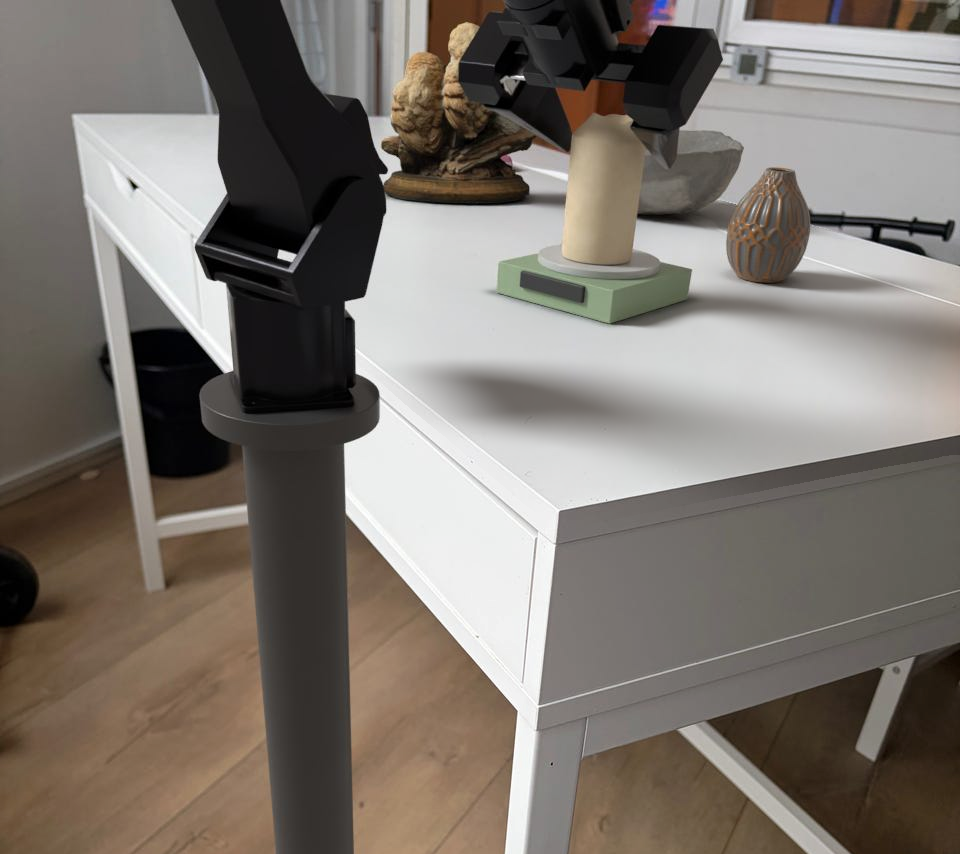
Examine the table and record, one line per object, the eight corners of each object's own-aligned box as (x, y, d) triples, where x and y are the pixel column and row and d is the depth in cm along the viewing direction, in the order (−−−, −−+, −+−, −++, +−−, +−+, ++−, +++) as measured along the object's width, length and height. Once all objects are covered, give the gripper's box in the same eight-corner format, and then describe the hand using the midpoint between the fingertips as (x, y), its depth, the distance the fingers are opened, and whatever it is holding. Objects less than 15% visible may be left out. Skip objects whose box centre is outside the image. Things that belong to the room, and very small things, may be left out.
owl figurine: (519, 186, 122) (530, 23, 113) (549, 205, 113) (564, 28, 104) (374, 185, 118) (373, 15, 109) (392, 204, 109) (393, 19, 99)
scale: (607, 324, 74) (612, 282, 72) (493, 293, 79) (496, 253, 78) (687, 299, 81) (693, 261, 79) (578, 272, 87) (582, 236, 85)
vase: (815, 283, 88) (840, 174, 83) (761, 290, 85) (784, 178, 80) (756, 265, 93) (777, 161, 88) (703, 272, 89) (721, 164, 84)
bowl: (545, 212, 109) (552, 131, 105) (605, 192, 122) (613, 119, 118) (704, 236, 103) (718, 150, 98) (749, 212, 116) (763, 135, 112)
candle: (603, 269, 75) (620, 120, 70) (546, 255, 78) (558, 111, 73) (645, 259, 79) (664, 117, 73) (589, 246, 82) (603, 108, 76)
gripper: (737, -134, 58) (782, 79, 71) (492, -130, 68) (571, 57, 81) (645, 23, 57) (707, 209, 70) (409, 5, 67) (503, 171, 80)
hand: (618, 155), depth 76 cm, fingers open, 9 cm apart
